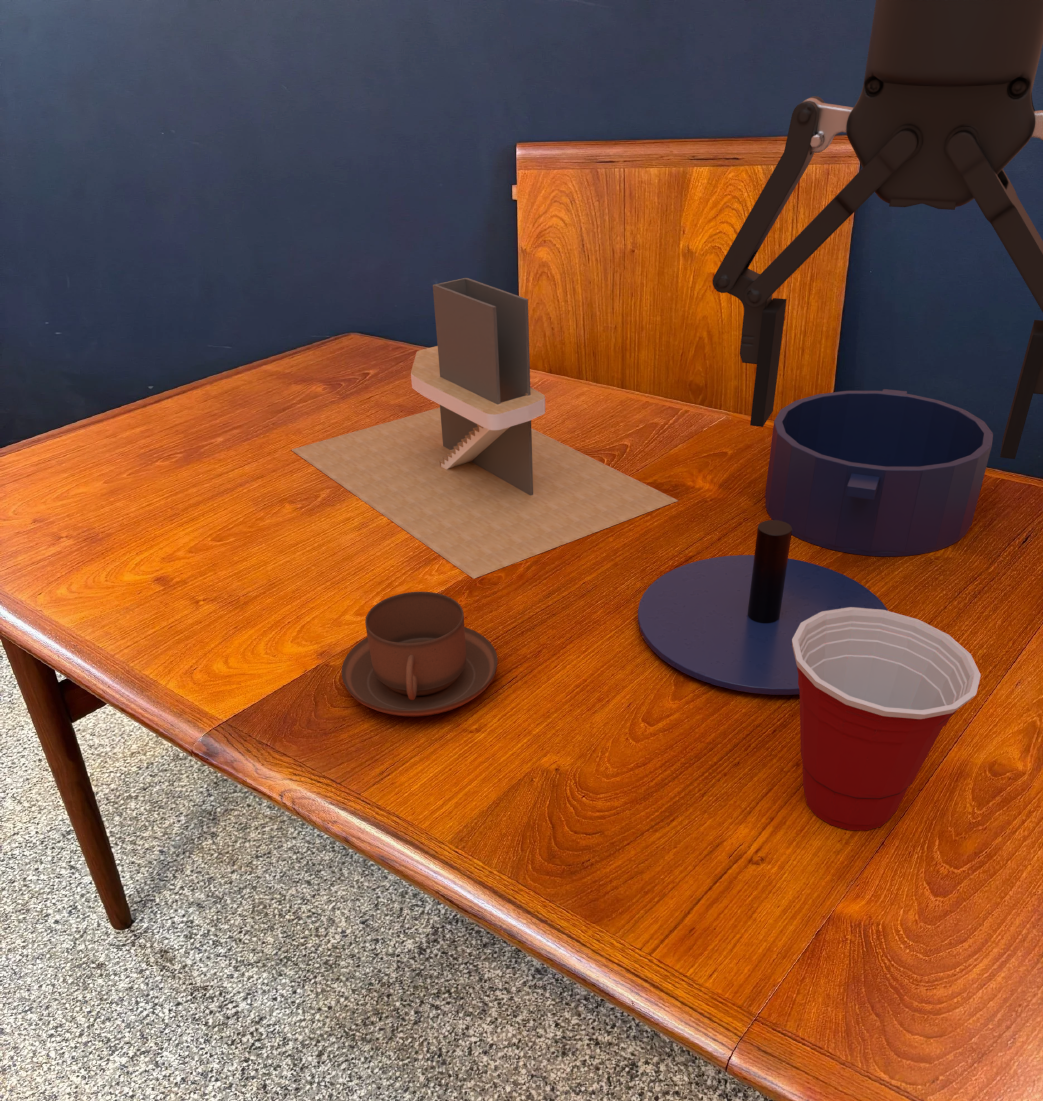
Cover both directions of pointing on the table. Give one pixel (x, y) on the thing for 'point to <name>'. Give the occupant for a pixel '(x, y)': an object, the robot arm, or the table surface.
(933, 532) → the pot
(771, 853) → the table surface
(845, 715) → the plastic cup
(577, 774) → the table surface
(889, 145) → the robot arm
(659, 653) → the pot lid
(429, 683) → the cup and saucer
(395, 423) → the architectural model
